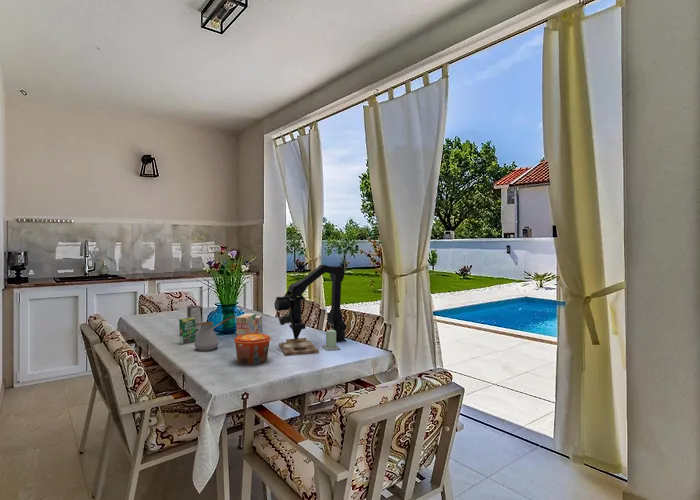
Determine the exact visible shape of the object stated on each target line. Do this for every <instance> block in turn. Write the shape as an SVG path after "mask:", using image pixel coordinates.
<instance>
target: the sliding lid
mask: <svg viewBox="0 0 700 500" xmlns="http://www.w3.org/2000/svg"><path fill="white" fill-rule="evenodd" d="M310 341H311V340H307V337H301V338H299V337H298V338H297V339H294V338H286V339H285V342H281V343H282V345H283V347H284V348H285V349H287V348H299V347H311V346H313V344H314V343H313V342H312V341H311V342H312V343H313V344H312V343H311V342H310Z"/></svg>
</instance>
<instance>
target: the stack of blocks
mask: <svg viewBox="0 0 700 500" xmlns="http://www.w3.org/2000/svg"><path fill="white" fill-rule="evenodd" d="M235 318H236V322H235V323H236V325H235V326H236V327H235V328H236V336H235V338H236V337H237V336H239V335H245V334H251V333H254V334H257V333H260V334H261V333H262V332H263V316H262V315H257V314H256V313H255V312H253V313H252V312H245V313H243V314H241V315H239V316H236V317H235Z"/></svg>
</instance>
